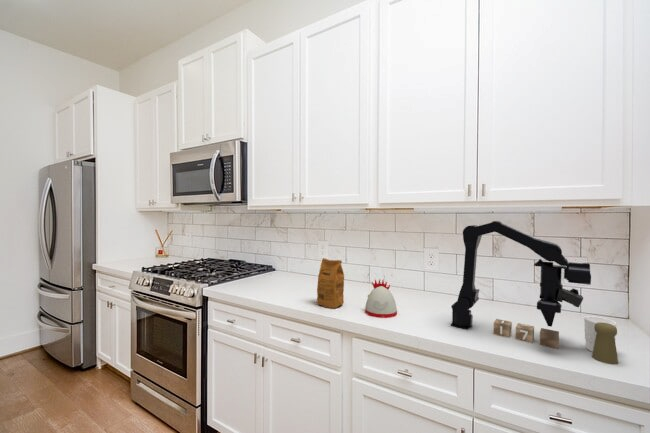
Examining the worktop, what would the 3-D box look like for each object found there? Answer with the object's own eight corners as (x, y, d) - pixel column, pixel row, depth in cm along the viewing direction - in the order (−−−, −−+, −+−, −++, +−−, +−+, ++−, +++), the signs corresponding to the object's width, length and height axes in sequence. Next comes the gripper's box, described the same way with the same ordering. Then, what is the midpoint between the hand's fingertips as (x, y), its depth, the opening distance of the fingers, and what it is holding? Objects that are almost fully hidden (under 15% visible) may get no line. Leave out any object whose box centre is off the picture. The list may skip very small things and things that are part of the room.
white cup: (620, 358, 96) (621, 326, 95) (589, 353, 98) (590, 322, 98) (608, 347, 103) (609, 318, 103) (579, 343, 106) (580, 314, 106)
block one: (493, 334, 113) (493, 322, 113) (496, 330, 117) (496, 318, 117) (509, 338, 110) (509, 325, 110) (511, 333, 114) (511, 321, 114)
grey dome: (365, 307, 145) (366, 275, 144) (395, 308, 142) (396, 276, 142) (364, 316, 131) (364, 281, 131) (397, 319, 129) (398, 283, 128)
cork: (605, 354, 98) (605, 320, 98) (624, 364, 92) (625, 327, 91) (586, 354, 97) (587, 320, 97) (604, 364, 91) (605, 327, 91)
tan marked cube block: (515, 339, 109) (515, 326, 109) (517, 335, 113) (517, 322, 113) (532, 343, 106) (532, 330, 106) (533, 338, 110) (534, 326, 110)
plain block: (539, 345, 104) (539, 332, 104) (540, 340, 108) (541, 327, 108) (558, 349, 101) (558, 336, 101) (558, 344, 105) (558, 331, 105)
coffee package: (326, 300, 155) (327, 256, 155) (346, 305, 147) (347, 259, 147) (313, 304, 147) (313, 258, 147) (333, 310, 139) (334, 261, 139)
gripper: (582, 289, 92) (581, 341, 92) (581, 279, 107) (580, 324, 107) (537, 283, 99) (536, 331, 99) (542, 274, 114) (541, 317, 114)
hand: (549, 326), depth 105 cm, fingers closed
